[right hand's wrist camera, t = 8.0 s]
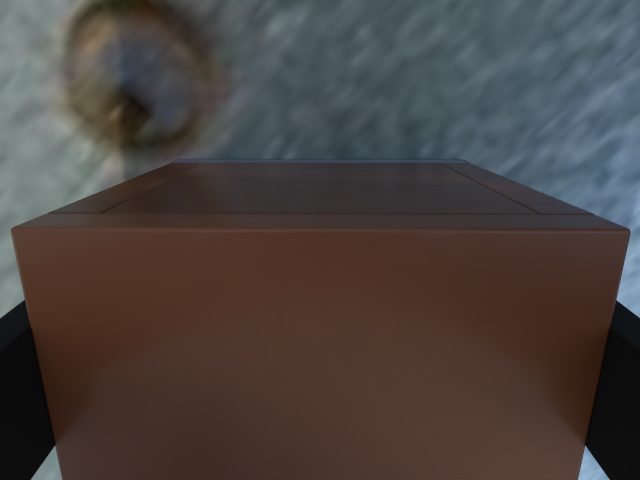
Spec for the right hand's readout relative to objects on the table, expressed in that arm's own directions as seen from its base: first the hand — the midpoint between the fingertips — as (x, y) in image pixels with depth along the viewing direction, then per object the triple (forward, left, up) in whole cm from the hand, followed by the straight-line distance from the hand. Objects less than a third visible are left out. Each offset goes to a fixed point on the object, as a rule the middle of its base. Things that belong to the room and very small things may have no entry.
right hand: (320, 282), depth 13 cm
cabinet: (+4, +5, -5) cm, 8 cm away
